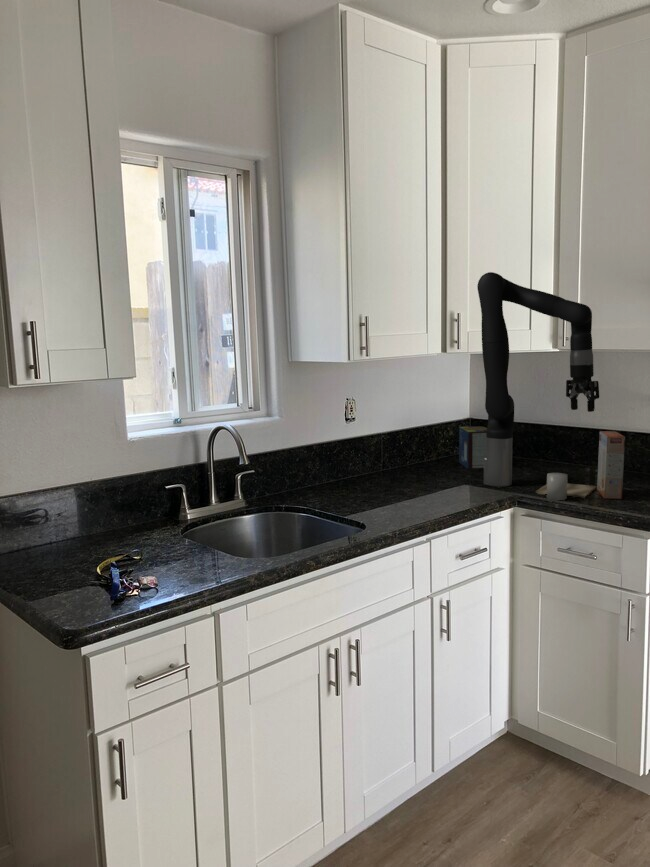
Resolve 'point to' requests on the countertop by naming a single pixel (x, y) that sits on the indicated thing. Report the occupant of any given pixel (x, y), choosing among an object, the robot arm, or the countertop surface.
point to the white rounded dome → (556, 486)
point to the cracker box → (610, 464)
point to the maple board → (572, 490)
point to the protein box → (472, 446)
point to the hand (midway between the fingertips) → (582, 410)
